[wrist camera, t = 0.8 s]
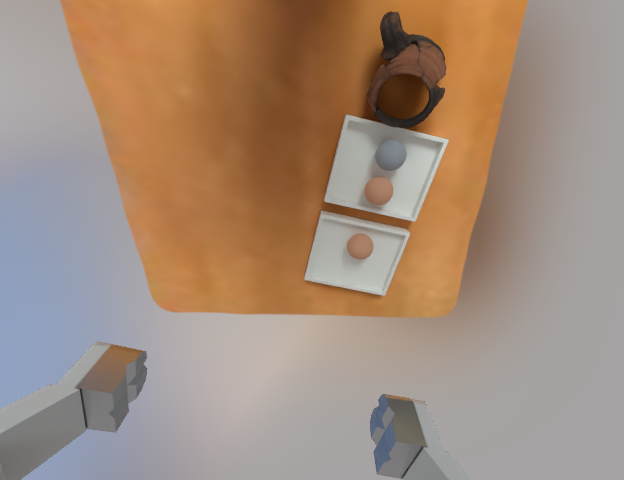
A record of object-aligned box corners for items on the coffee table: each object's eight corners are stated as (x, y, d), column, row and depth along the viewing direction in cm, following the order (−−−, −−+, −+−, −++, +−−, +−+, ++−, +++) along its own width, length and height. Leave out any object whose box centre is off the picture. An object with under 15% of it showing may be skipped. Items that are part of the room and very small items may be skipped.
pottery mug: (456, 80, 38) (457, 115, 34) (387, 112, 44) (380, 145, 39) (423, -23, 31) (419, 4, 27) (347, 30, 37) (332, 60, 32)
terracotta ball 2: (367, 170, 42) (371, 177, 39) (394, 176, 43) (400, 184, 39) (359, 196, 44) (362, 205, 41) (384, 202, 44) (390, 212, 41)
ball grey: (378, 134, 40) (384, 138, 37) (406, 141, 41) (414, 146, 37) (369, 163, 42) (373, 170, 38) (396, 170, 42) (403, 177, 39)
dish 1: (345, 113, 40) (346, 114, 38) (443, 138, 41) (448, 139, 39) (323, 197, 45) (324, 201, 43) (411, 217, 46) (415, 221, 44)
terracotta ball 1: (349, 226, 46) (352, 238, 43) (374, 232, 47) (379, 243, 43) (343, 248, 48) (345, 261, 45) (366, 254, 48) (370, 266, 45)
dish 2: (320, 209, 46) (321, 214, 44) (407, 228, 47) (410, 233, 45) (304, 273, 51) (304, 279, 50) (382, 289, 52) (384, 295, 51)
